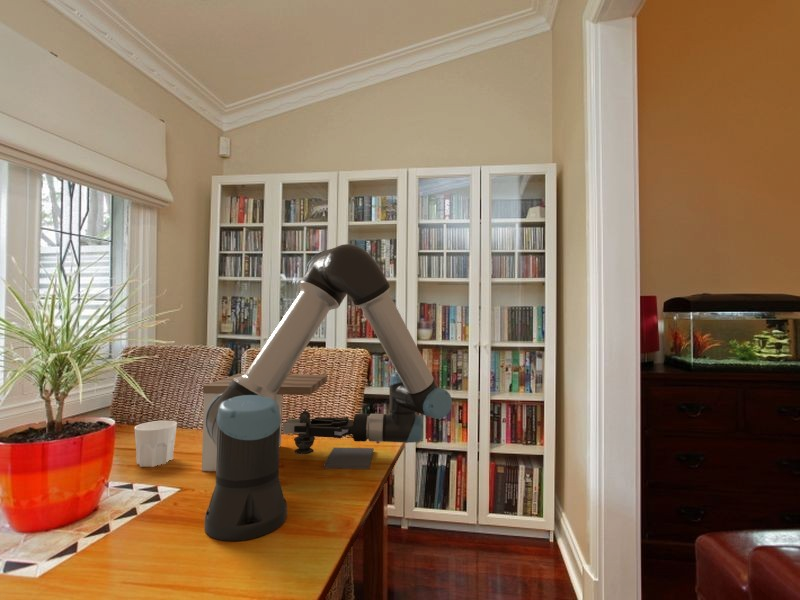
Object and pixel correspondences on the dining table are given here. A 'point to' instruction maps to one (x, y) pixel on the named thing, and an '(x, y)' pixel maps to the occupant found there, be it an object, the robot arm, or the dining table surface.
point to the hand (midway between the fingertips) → (285, 425)
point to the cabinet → (290, 386)
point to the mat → (349, 458)
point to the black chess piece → (304, 437)
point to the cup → (155, 442)
